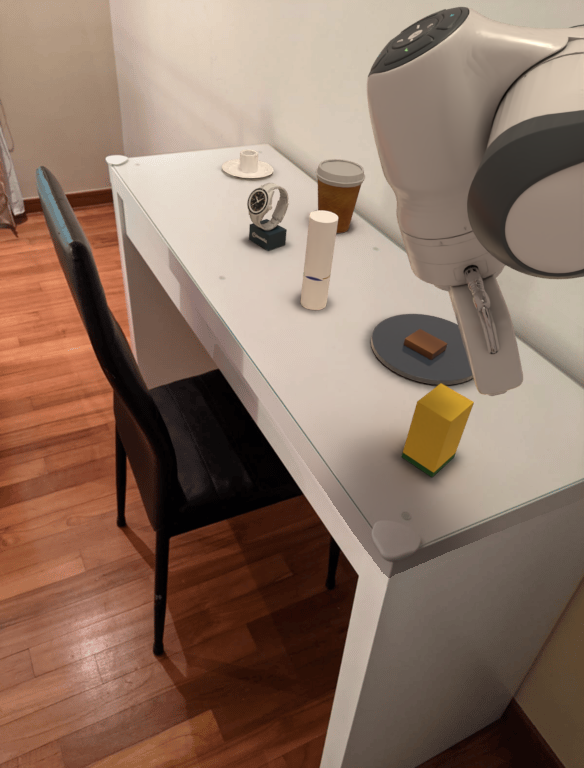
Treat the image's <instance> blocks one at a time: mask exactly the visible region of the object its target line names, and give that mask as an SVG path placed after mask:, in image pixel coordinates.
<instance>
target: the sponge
mask: <svg viewBox="0 0 584 768" xmlns="http://www.w3.org/2000/svg"><path fill="white" fill-rule="evenodd" d="M474 404H475V401H473V400H472V399H469V398H468V397H466V396H465V395H463V394H461V393H459V392H457V391H455V390H454V389H452V388H450V387H449V386H448V385H443V384H442V383H440V384H439V385H436V386H435V387H434V388H433V389H431V390H430V391H429V392H427V393H426V394H424V395H423V396H422V397H420V399H418V400H417V401H416V404H415V406H414V407H415V408H414V411H413V414H412V417H411V421H410V426H409V428H408V432H407V436H406V439H405V442H404V446H403V449H402V454H401V456H400V457H401V458H402V459H404V460H405V461H407V462H408V463H410V464H411V465H413V466H414V467H416V468H418V469H419V470H420V471H421V472H423V473H425V474H426V475H427V476H429V477H431V478H433V477H435V476H436V475H437V474H438V473H439V472H440V471H442V469H443V468H444V467H445V466H446V465H448V463H450V461H452V460H453V459H454V458H455V456H456V453H457V451H458V447H459V446H460V443H461V440H462V437H463V435H464V431H465V429H466V426H467V423H468V420H469V418H470V414H471V412H472V410H473V407H474Z"/></svg>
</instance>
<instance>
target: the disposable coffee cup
mask: <svg viewBox="0 0 584 768" xmlns="http://www.w3.org/2000/svg"><path fill="white" fill-rule="evenodd" d="M315 176H316V178H317V211H319V210H322V211H329V212H332V213H334V214H336V215H337V216H338V225H337V232H336V234H342V233H345V232H347V231H348V230H349V229H350V225H351V222H352V219H353V216H354V211H355V209H356V205H357V201H358V198H359V195H360V191H361V187H362V184H363V183H364V181H365V179H366V174H365V169H364V167H363V166H362V165H361V164H359V163H357V162H355V161H351V160H347V159H337V158H331V159H324V160H322V161H321V162H319V163H318V167H317V168H316V169H315Z"/></svg>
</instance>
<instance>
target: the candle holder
mask: <svg viewBox="0 0 584 768" xmlns="http://www.w3.org/2000/svg"><path fill="white" fill-rule="evenodd" d="M221 169H222V170H223V171H224V172H225V173H227V174H228V175H231V176H234V177H238V178H243V179H259V178H265V177H269V176H270V175H272V174H273V173H274V167H273V166H272V165H271V164H269V163H268V162H265V161H262V160H259V152H258V151H256V150H254V149H241V150H240V151H239V158H235V159H234V158H233V159H230V160H229V159H228V160H226V161H225V162H223V163H222V165H221Z"/></svg>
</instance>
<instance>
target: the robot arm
mask: <svg viewBox="0 0 584 768" xmlns="http://www.w3.org/2000/svg"><path fill="white" fill-rule="evenodd" d="M366 99H367V107H368V113H369V120H370V124H371V130H372V135H373V140H374V143H375V147H376V151H377V155H378V159H379V164H380V166H381V171H382V174H383V176H384V179H385V180H386V182H387V184H388V185H389V186H390V188H391V189H392V191H393V194H394V196H395V200H396V209H395V210H396V211H395V212H396V213H395V215H396V221H397V225H398V228H399V232H400V235H401V238H402V241H403V242H402V243H403V246H404V248H405V252H406V256H407V259H408V262H409V265H410V269H411V271H412V273H413V274H414V276H416V278H418V279H419V280H420V281H422V282H424V283H426V284H430V285H433V286H434V287H435V288H437V289H439V290H441V291H445V292H447V293H448V296H449V299H450V302H451V306H452V310H453V313H454V316H455V320H456V324H457V325H458V327H459V330H460V334H461V337H462V341H463V344H464V348H465V351H466V354H467V358H468V361H469V365H470V368H471V372H472V375H473V378H472V379H473V381H474V385H475V387H476V390H477V392H478V394H480V395H483V396H490V397H495V396H501V395H503V394H506V393H507V392H509V391H511V390H514V389H517V388H519V387H520V386H522V385H523V382H524V373H523V367H522V366H523V365H522V362H521V361H522V360H521V356H520V351H519V345H518V343H517V337H516V332H515V328H514V324H513V321H512V316H511V314H510V310H509V308H508V305H507V303H506V300H505V298H504V295H503V293H502V290H501V288H500V284H499V282H498V279H497V278H498V277H499V276H500V274H501V273H502V272H503V270H504V268H505V267H508V268H510V269H512V270H514V271H516V272H519V273H521V274H524V275H527V276H529V277H534V278H539V279H546V280H569V279H570V280H571V279H577V278H584V23H583V24H577V25H573V26H570V27H533V26H522V25H517V24H511V23H506V22H502V21H498V20H494V19H492V18H489V17H487V16H485V15H483V14H481V12H478V11H477V10H475V9H473V8H471V7H468V6H456V7H452V8H447V9H446V8H444V9H441V10H439V11H435V12H433V13H431V14H429V15H426V16H424V17H422V18H420V19H419V20H416V21H415V22H414V23H412V24H410V25H409V26H407V27H406V28H404V29H402V30H401V31H400V33H398V34H397V35H396V36H394V37H393V38H391V39H390V40H389V41H388V43H386V45H385V46H384V47H383V48H382V49H381V51H380V52H379V54H378V56H377V57H376V58H375V60H374V62H373V63H372V65H371V66H370V71H369V73H368V75H367V79H366Z"/></svg>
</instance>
